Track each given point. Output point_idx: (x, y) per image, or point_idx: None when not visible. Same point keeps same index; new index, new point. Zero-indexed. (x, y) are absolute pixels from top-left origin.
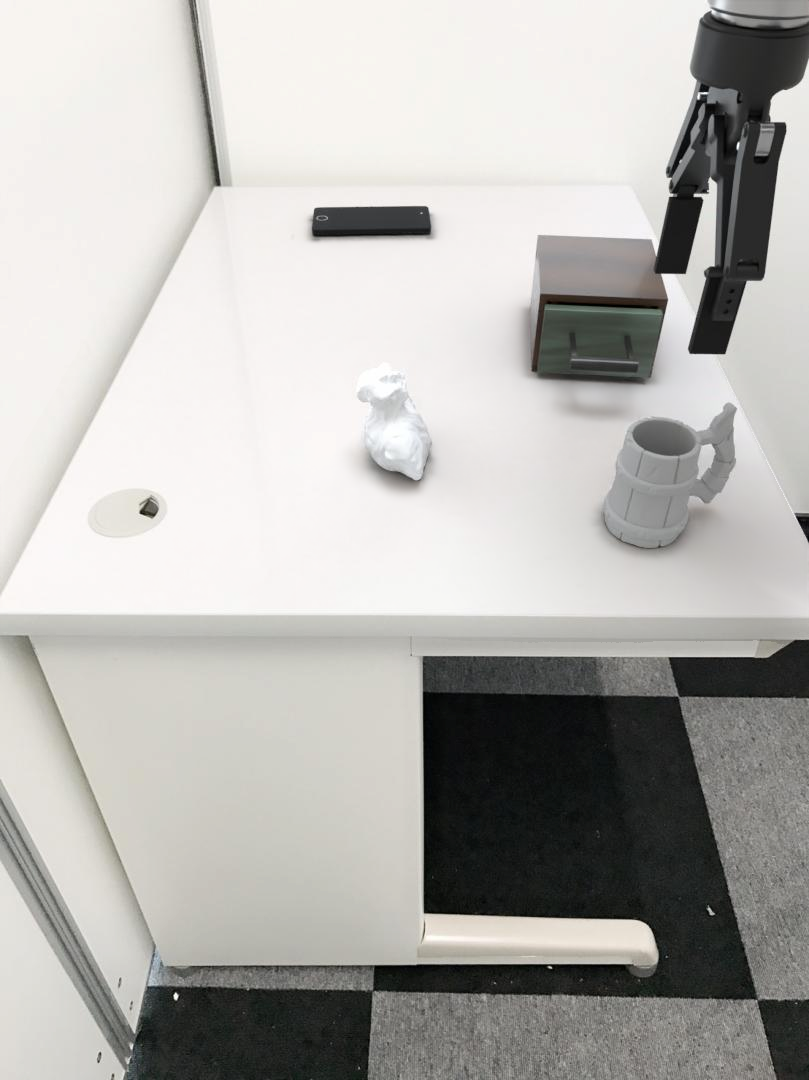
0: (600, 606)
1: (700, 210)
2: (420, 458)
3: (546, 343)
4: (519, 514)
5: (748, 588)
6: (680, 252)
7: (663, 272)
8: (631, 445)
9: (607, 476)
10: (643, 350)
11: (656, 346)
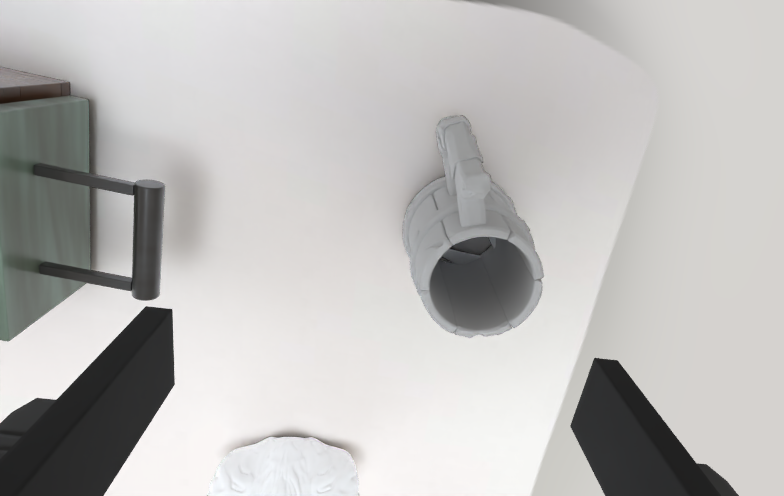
0: (582, 310)
1: (44, 462)
2: (347, 478)
3: (56, 297)
4: (415, 357)
5: (605, 130)
6: (142, 376)
7: (171, 368)
8: (488, 335)
9: (352, 238)
10: (53, 127)
11: (23, 88)
